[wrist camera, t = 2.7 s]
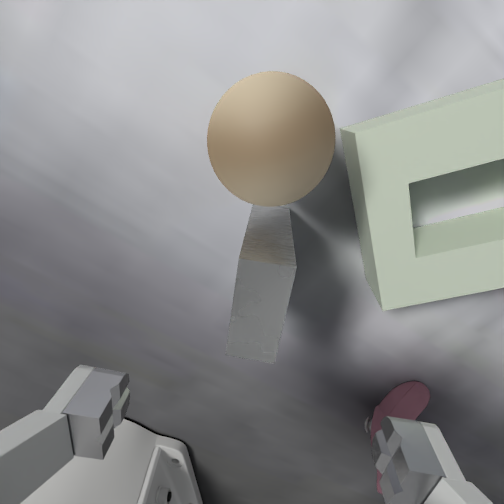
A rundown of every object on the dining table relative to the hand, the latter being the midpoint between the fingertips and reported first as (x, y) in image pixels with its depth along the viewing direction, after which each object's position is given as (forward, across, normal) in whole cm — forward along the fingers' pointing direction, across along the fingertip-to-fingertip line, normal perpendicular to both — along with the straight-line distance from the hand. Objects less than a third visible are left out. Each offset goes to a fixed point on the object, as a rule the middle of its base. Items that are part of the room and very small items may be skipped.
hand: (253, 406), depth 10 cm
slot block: (+14, -11, -6) cm, 19 cm away
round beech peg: (+14, +1, -7) cm, 16 cm away
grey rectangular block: (+14, 0, 0) cm, 14 cm away
